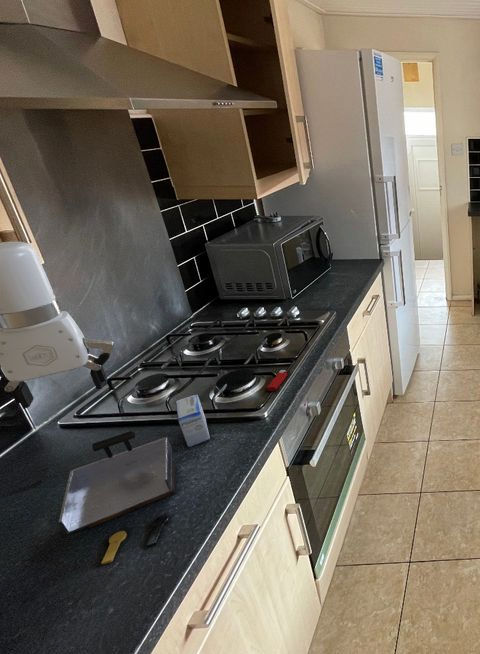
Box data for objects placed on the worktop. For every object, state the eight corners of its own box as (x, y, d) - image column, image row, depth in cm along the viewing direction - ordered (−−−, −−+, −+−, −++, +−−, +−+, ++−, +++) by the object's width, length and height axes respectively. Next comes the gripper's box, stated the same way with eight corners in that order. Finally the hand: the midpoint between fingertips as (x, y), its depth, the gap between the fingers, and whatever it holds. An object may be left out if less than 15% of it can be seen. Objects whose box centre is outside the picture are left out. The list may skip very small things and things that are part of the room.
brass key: (98, 566, 73) (97, 564, 72) (112, 535, 78) (111, 533, 78) (115, 560, 74) (114, 558, 73) (128, 530, 79) (127, 528, 78)
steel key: (143, 548, 76) (142, 546, 75) (155, 519, 81) (155, 517, 81) (159, 543, 76) (158, 541, 76) (170, 515, 82) (170, 513, 81)
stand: (89, 528, 79) (78, 510, 77) (94, 500, 84) (85, 483, 82) (174, 493, 86) (167, 475, 84) (174, 469, 91) (167, 452, 89)
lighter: (265, 387, 115) (279, 369, 123) (266, 390, 116) (280, 373, 123) (275, 387, 115) (289, 369, 123) (276, 390, 116) (290, 373, 123)
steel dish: (66, 534, 73) (47, 505, 69) (77, 480, 82) (61, 452, 79) (172, 491, 81) (159, 463, 77) (171, 446, 90) (160, 419, 87)
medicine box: (185, 428, 102) (174, 400, 99) (206, 420, 105) (197, 393, 102) (188, 448, 97) (176, 419, 94) (211, 439, 100) (200, 410, 96)
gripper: (-60, 337, 64) (-11, 424, 70) (93, 309, 73) (124, 388, 80) (-40, 317, 69) (4, 400, 76) (100, 294, 79) (128, 369, 85)
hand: (66, 394), depth 78 cm, fingers open, 9 cm apart
